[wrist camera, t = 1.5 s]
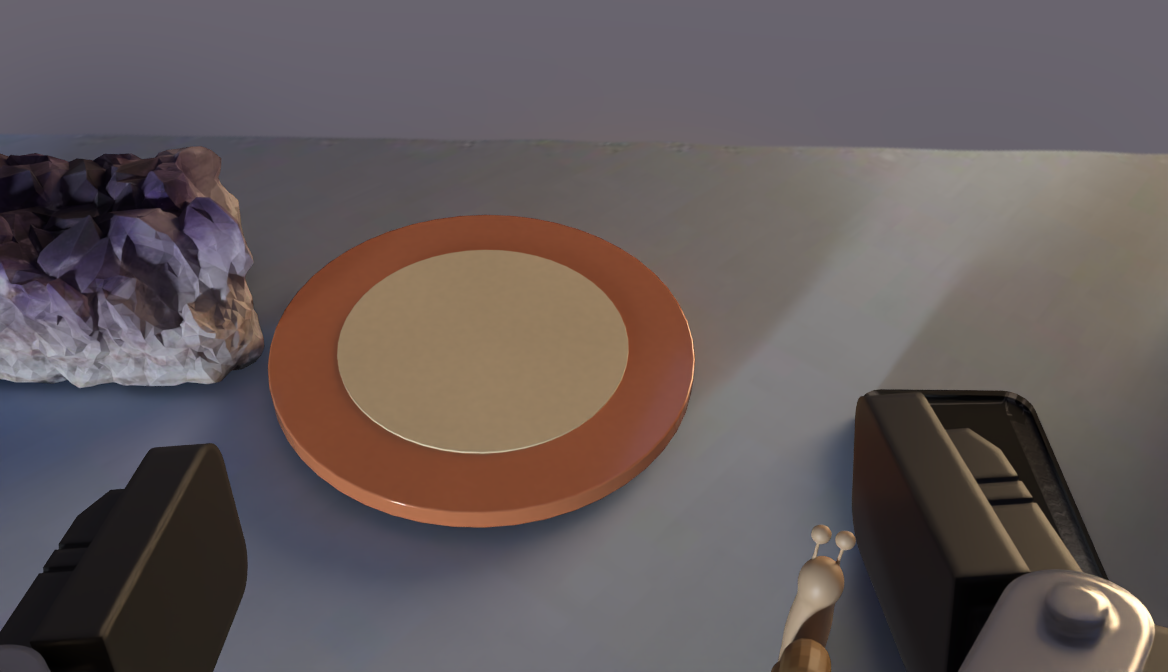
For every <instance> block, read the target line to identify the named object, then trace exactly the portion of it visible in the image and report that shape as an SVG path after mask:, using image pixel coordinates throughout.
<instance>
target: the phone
mask: <svg viewBox="0 0 1168 672" xmlns="http://www.w3.org/2000/svg"><path fill="white" fill-rule="evenodd" d="M912 392H921V393H922V394H923V395H924V396H925V398H926V399H927V401H928V403H929V404H930V406H931V408H932V409H933V411H934V413H935V414H936V416H937V417H938V419H939V421H940V422H941V424H942V426H943V427H944V429H945V430H948V429H961V428H969V429H971V430H972V431H974V432H975V433H977V434H978V435H980V436H981V437H983V438H984V439H986V440H987V441H989V442H990V443H992V444H993V445H995V446H996V447H998V448H999V449H1001V451H1002V452H1003V454H1004V455H1005V457H1006V458H1007V460H1008V461H1009V463H1010V464H1011V466H1012V467H1013V469H1014V470H1015V472H1016V473H1017V475H1018V479H1019V481H1022V482H1023V484H1024V485H1025V487H1026V488H1027V490H1028V491H1029V493H1030V494H1031V496H1032V497H1033V503H1037V504H1038V506H1039V507H1040V509H1041V510H1042V512H1043V513H1044V515H1045V516H1046V518H1047V519H1048V521H1049V522H1050V524H1051V525H1052V527H1053V528H1054V530H1055V531H1056V533H1057V534H1058V536H1059V537H1060V539H1061V540H1062V542H1063V543H1064V545H1065V546H1066V548H1067V549H1068V551H1069V552H1070V554H1071V555H1072V557H1073V558H1074V560H1075V561H1076V563H1077V564H1078V566H1079V567H1080V569H1081V570H1082V572H1083V573H1087V574H1091V575H1095V576H1097V577H1100V578H1103V579H1106V580H1108V577H1107V575H1106V573H1105V571H1104V568H1103V566H1102V564H1101V561H1100V559H1099V557H1098V554H1097V552H1096V550H1095V547H1094V545H1093V543H1092V540H1091V538H1090V536H1089V534H1088V531H1087V529H1086V527H1085V524H1084V522H1083V520H1082V517H1081V515H1080V513H1079V510H1078V508H1077V506H1076V504H1075V501H1074V499H1073V497H1072V494H1071V492H1070V490H1069V487H1068V485H1067V483H1066V480H1065V478H1064V476H1063V473H1062V471H1061V469H1060V467H1059V464H1058V462H1057V460H1056V457H1055V455H1054V453H1053V450H1052V448H1051V446H1050V443H1049V441H1048V439H1047V436H1046V434H1045V432H1044V430H1043V427H1042V425H1041V423H1040V420H1039V418H1038V416H1037V413H1036V411H1035V409H1034V408H1033V406H1032V405H1031V403H1029V402H1028V401H1027V400H1026V399H1025V398H1023V397H1021V396H1020V395H1018V394H1015V393H1012V392H1007V391H977V390H882V389H881V390H873V391H871V392H868V393H866V394H865V395H864V396H872V395H885V394H898V393H912ZM1108 581H1109V580H1108Z"/></svg>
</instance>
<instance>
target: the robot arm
mask: <svg viewBox="0 0 1168 672" xmlns="http://www.w3.org/2000/svg"><path fill="white" fill-rule="evenodd" d="M852 515H853V524H854V531H855V536H856V541H857V545H858V548H859V551H860V554H861V556H862V559H863V561H864V564H865V567H866V569H867V572H868V574H869V577H870V579H871V582H872V584H873V587H874V589H875V592H876V594H877V597H878V599H879V602H880V605H881V607H882V610H883V612H884V615H885V617H886V620H887V622H888V625H889V627H890V630H891V632H892V635H893V637H894V640H895V643H896V645H897V648H898V650H899V653H900V655H901V658H902V660H903V663H904V665H905V668H906V670H907V672H1168V628H1164V627H1161V626H1157V625H1154V622H1153V620H1152V617H1151V615H1150V614H1149V612H1148V610H1147V609H1146V607H1145V606H1144V605H1143V604H1142V603H1141V602H1140V601H1139V600H1138V599H1137V598H1136V597H1134V596H1133V595H1132V594H1131V593H1129V592H1128V591H1126V590H1125V589H1123V588H1122V587H1120V586H1118V585H1116V584H1114V583H1112V582H1110V581H1108V580H1106V579H1103V578H1100V577H1097V576H1095V575H1091V574H1087V573H1083V572H1082V570H1081V569H1080V567H1079V566H1078V564H1077V563H1076V561H1075V560H1074V558H1073V557H1072V555H1071V554H1070V552H1069V551H1068V549H1067V548H1066V546H1065V545H1064V543H1063V542H1062V540H1061V539H1060V537H1059V536H1058V534H1057V533H1056V531H1055V530H1054V528H1053V527H1052V525H1051V524H1050V522H1049V521H1048V519H1047V518H1046V516H1045V515H1044V513H1043V512H1042V510H1041V509H1040V507H1039V506H1038V504H1037V503H1033V497H1032V496H1031V494H1030V493H1029V491H1028V490H1027V488H1026V487H1025V485H1024V484H1023V482H1022V481H1019V479H1018V475H1017V473H1016V472H1015V470H1014V469H1013V467H1012V466H1011V464H1010V463H1009V461H1008V460H1007V458H1006V457H1005V455H1004V454H1003V452H1002V451H1001V449H999V448H998V447H996V446H995V445H993V444H992V443H990V442H989V441H987V440H986V439H984V438H983V437H981V436H980V435H978V434H977V433H975V432H974V431H972V430H971V429H969V428H961V429H948V430H945V429H944V427H943V426H942V424H941V422H940V421H939V419H938V417H937V416H936V414H935V413H934V411H933V409H932V408H931V406H930V404H929V403H928V401H927V399H926V398H925V396H924V395H923V394H922V393H921V392H912V393H898V394H885V395H872V396H861V397H860V398H859V399H858V402H857V406H856V415H855V438H854V462H853V486H852ZM247 569H248V562H247V550H246V544H245V539H244V536H243V532H242V528H241V524H240V520H239V517H238V513H237V509H236V505H235V501H234V498H233V494H232V490H231V486H230V482H229V479H228V475H227V471H226V467H225V463H224V460H223V457H222V454H221V452H220V450H219V449H218V447H217V446H216V445H214V444H212V443H208V444H195V445H182V446H168V447H155V448H152V449H150V450H149V451H148V453H147V454H146V455H145V457H144V459H143V460H142V462H141V463H140V465H139V467H138V468H137V470H136V471H135V473H134V475H133V476H132V478H131V479H130V481H129V483H128V484H127V486H126V487H125V489H116V490H110V491H109V492H107V493H106V494H105V495H103V496H102V497H101V498H100V499H98V500H97V501H96V502H95V503H93V504H92V505H91V506H89V507H88V508H87V509H86V510H84V511H83V512H82V513H81V514H79V515H78V516H77V517H76V519H75V520H74V522H73V523H72V525H71V526H70V528H69V529H68V531H67V532H66V534H65V535H64V537H63V538H62V540H61V541H60V543H59V550H54V552H53V553H52V555H51V556H50V558H49V559H48V561H47V562H46V564H45V565H44V567H43V573H39V574H38V576H37V577H36V579H35V580H34V582H33V583H32V585H31V586H30V588H29V589H28V591H27V592H26V594H25V595H24V597H23V598H22V600H21V601H20V603H19V604H18V606H17V607H16V609H15V610H14V612H13V613H12V615H11V616H10V618H9V619H8V621H7V622H6V624H5V625H4V627H3V628H2V630H1V631H0V672H213V670H214V668H215V665H216V663H217V660H218V658H219V655H220V653H221V650H222V648H223V645H224V643H225V640H226V637H227V635H228V632H229V630H230V627H231V625H232V622H233V620H234V617H235V615H236V612H237V610H238V607H239V604H240V602H241V599H242V597H243V594H244V591H245V587H246V581H247Z"/></svg>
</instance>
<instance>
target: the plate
mask: <svg viewBox="0 0 1168 672" xmlns="http://www.w3.org/2000/svg"><path fill="white" fill-rule="evenodd" d="M694 366H695V355H694V345H693V339H692V336H691V332H690V329H689V325H688V322H687V320H686V318H685V316H684V314H683V312H682V309H681V307H680V305H679V304H678V302H677V301H676V299H675V298H674V296H673V295H672V293H671V292H670V291H669V289H668V288H667V287H666V286H665V285H664V283H663V282H662V281H661V280H660V279H659V278H658V277H657V276H656V275H655V274H654V273H653V272H652V271H651V270H650V269H648V268H647V267H646V266H645V265H644V264H642V263H641V262H640V261H639V260H637V259H636V258H634V257H633V256H631V255H630V254H628V253H627V252H625V251H624V250H622V249H621V248H619V247H617V246H615V245H613V244H611V243H609V242H607V241H605V240H603V239H601V238H599V237H597V236H594V235H591V234H589V233H586V232H584V231H581V230H579V229H575V228H572V227H568V226H565V225H561V224H558V223H554V222H549V221H544V220H538V219H533V218H525V217H516V216H502V215H474V216H458V217H450V218H442V219H435V220H431V221H426V222H421V223H416V224H412V225H409V226H406V227H402V228H399V229H396V230H392V231H389V232H387V233H384V234H382V235H379V236H377V237H374V238H372V239H369V240H367V241H365V242H363V243H361V244H359V245H358V246H356V247H354V248H352V249H350V250H348V251H346V252H345V253H343V254H342V255H340V256H339V257H337V258H336V259H334V260H333V261H331V262H330V263H328V264H327V265H326V266H325V267H323V268H322V269H321V270H320V271H319V272H317V273H316V274H315V275H314V276H312V277H311V278H310V280H309V281H308V282H307V283H306V284H305V285H304V286H303V287H302V288H301V289H300V290H299V291H298V292H297V294H296V295H295V296H294V298H293V299H292V301H291V302H290V304H289V305H288V306H287V308H286V309H285V311H284V313H283V315H282V317H281V319H280V321H279V323H278V325H277V327H276V330H275V333H274V336H273V340H272V343H271V346H270V352H269V361H268V377H269V388H270V393H271V397H272V401H273V405H274V408H275V412H276V416H277V419H278V422H279V424H280V426H281V428H282V430H283V432H284V434H285V436H286V438H287V440H288V441H289V443H290V444H291V446H292V447H293V448H294V450H295V451H296V452H297V454H298V455H299V456H300V458H301V459H302V460H303V461H304V462H305V463H306V464H307V465H308V466H309V467H310V468H311V469H312V470H313V471H314V472H315V473H316V474H317V475H318V476H319V477H321V478H322V479H323V480H325V481H326V482H328V483H329V484H330V485H332V486H333V487H335V488H336V489H337V490H339V491H340V492H342V493H344V494H345V495H347V496H349V497H351V498H353V499H355V500H357V501H359V502H360V503H362V504H364V505H367V506H369V507H372V508H374V509H377V510H380V511H382V512H385V513H388V514H390V515H393V516H397V517H401V518H405V519H409V520H413V521H417V522H421V523H428V524H435V525H443V526H450V527H479V528H486V527H498V526H510V525H519V524H524V523H529V522H534V521H540V520H545V519H549V518H552V517H555V516H558V515H562V514H565V513H568V512H571V511H575V510H577V509H579V508H582V507H584V506H586V505H588V504H591V503H593V502H595V501H598V500H600V499H602V498H604V497H605V496H607V495H609V494H610V493H612V492H614V491H616V490H617V489H619V488H621V487H622V486H624V485H626V484H627V483H628V482H629V481H631V480H632V479H633V478H635V477H636V476H637V475H638V474H640V473H641V472H642V471H644V470H645V469H646V468H647V467H648V466H649V465H650V464H651V463H652V462H653V461H654V460H655V459H656V458H657V457H658V456H659V454H660V453H661V452H662V451H663V450H664V449H665V447H666V446H667V445H668V443H669V442H670V440H671V439H672V437H673V436H674V435H675V433H676V432H677V430H678V428H679V426H680V423H681V421H682V419H683V417H684V415H685V413H686V410H687V406H688V403H689V399H690V396H691V392H692V385H693V377H694Z"/></svg>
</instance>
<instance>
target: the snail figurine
mask: <svg viewBox="0 0 1168 672" xmlns="http://www.w3.org/2000/svg"><path fill="white" fill-rule="evenodd" d="M811 536H812V538H813V540H814V541H815V542H816V543H817V544H816V547H815V551H814V554H813V557H812V559H810V560H809V561H807V562H806V563H805V564H804V566H803V567H802V569H801V571H800V573H799V577H798V592H797V595H796V597H795V600H794V602H793V604H792V607H791V609H790V612H789V615H788V618H787V621H786V625H785V629H784V634H783V640H782V645H781V650H780V655H779V659H778V662H777V663H776V664H775V665H774V666H773V668H772V670H771V672H831V661H830V657H829V655H828V652H827V651H826V649H825V646H826V643H827V640H828V636H829V633H830V629H831V624H832V619H833V612H834V606H835V603H836V602H837V600H838V599H839V598H840V596H841V594H842V592H843V588H844V576H843V573H842V570H841V568H840V560H841V557H842V553H843V551H844V550H849V549H851V548H853V547H854V545H855V543H856V539H855V536H854V535H853V534H852V533H851V532H849V531H841V532H839V533H838V534H837V535H836V539H835V541H836V544H837V546H838V547H839V548H840V549H841V550H840V553H839V556H838V558H837V561H836V562H835V561H834V560H833V559H831V558H829V557H826V556H818V557H817V552H818V548H819V544H825V543H827V542H828V541H829V540H830V539H831V531H830V529H829V528H828V527H827V526H825V525H817V526H815V527H814V528H813V529H812V532H811Z"/></svg>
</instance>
